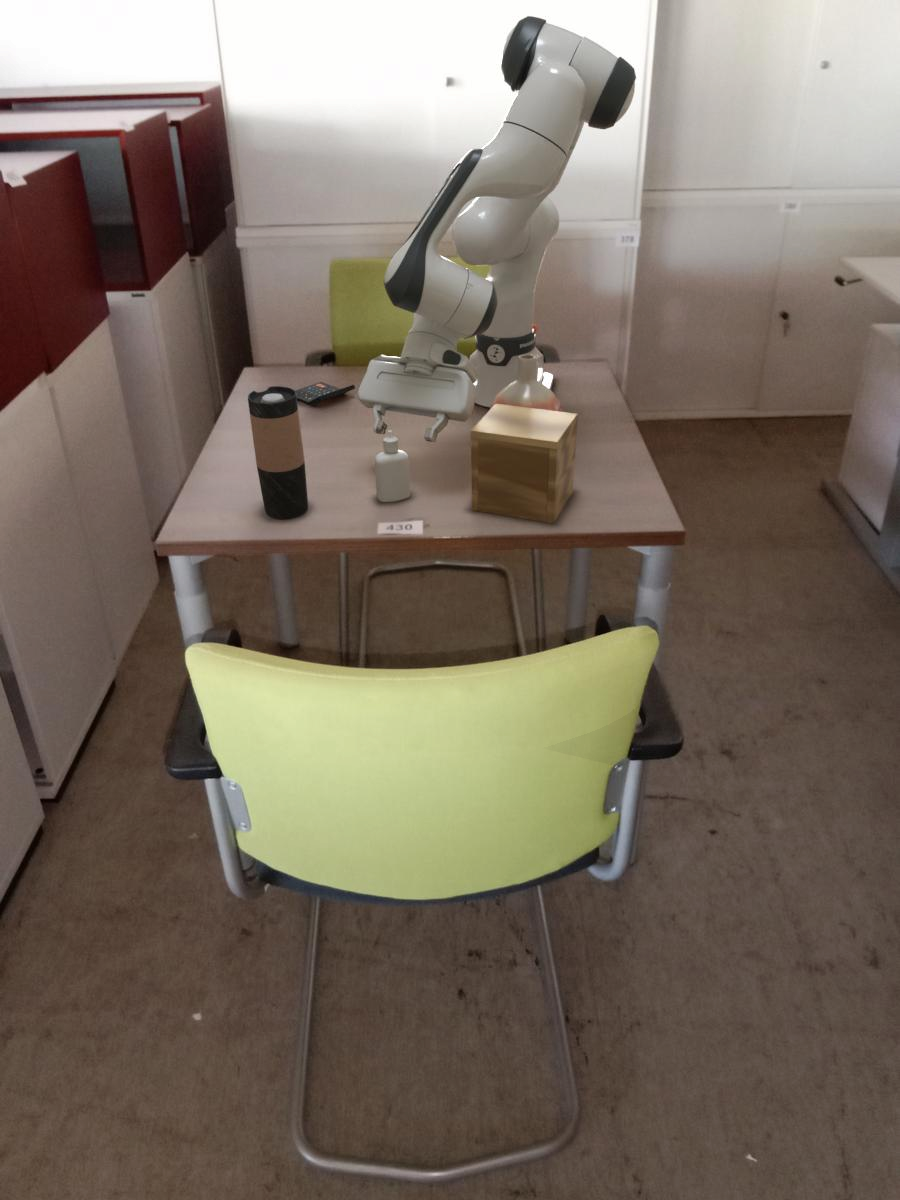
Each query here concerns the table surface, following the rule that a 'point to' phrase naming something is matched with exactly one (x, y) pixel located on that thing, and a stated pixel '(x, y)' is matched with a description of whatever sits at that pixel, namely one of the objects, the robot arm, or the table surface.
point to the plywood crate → (523, 462)
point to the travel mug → (279, 452)
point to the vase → (527, 389)
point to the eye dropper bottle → (392, 471)
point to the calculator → (319, 393)
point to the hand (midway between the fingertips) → (403, 436)
